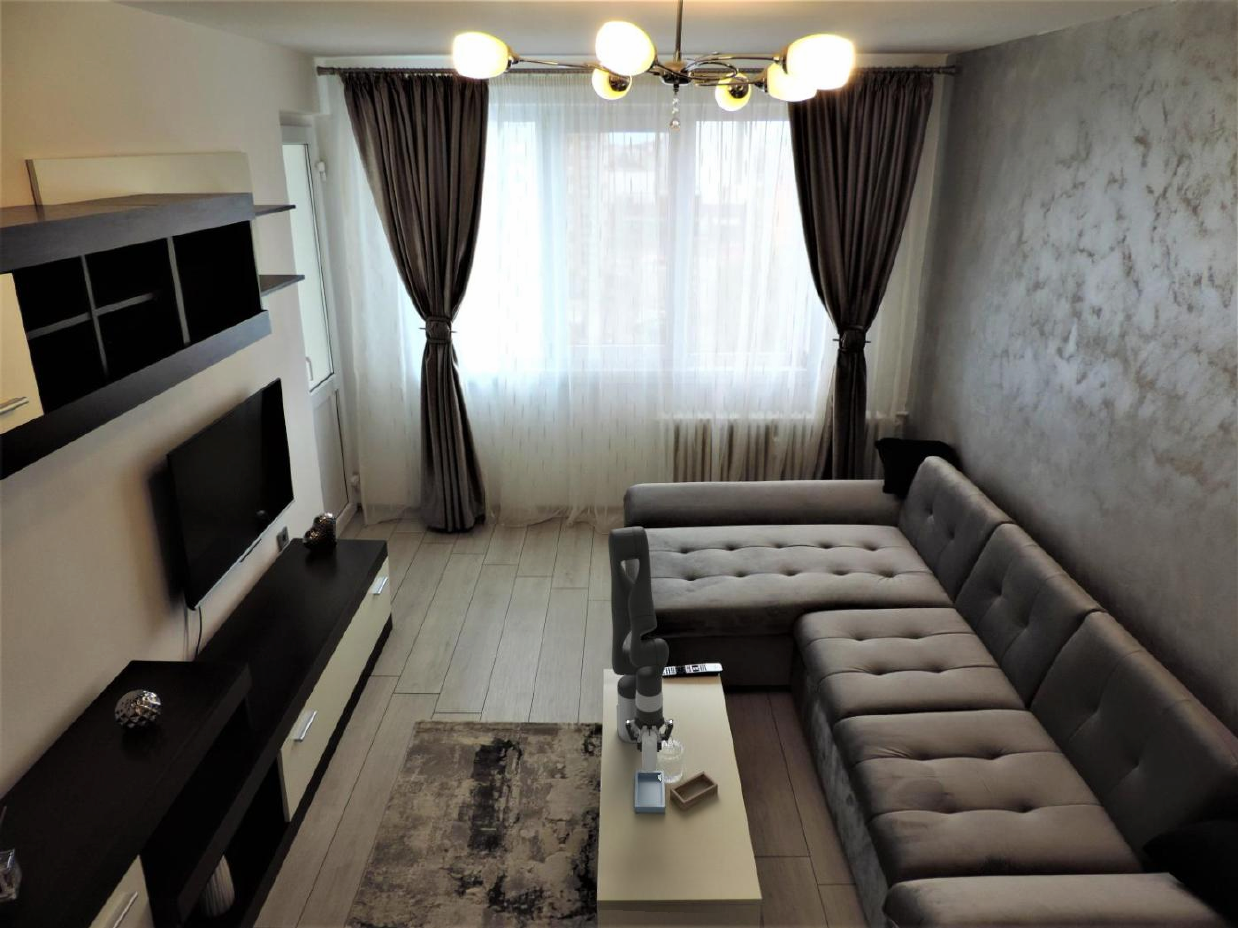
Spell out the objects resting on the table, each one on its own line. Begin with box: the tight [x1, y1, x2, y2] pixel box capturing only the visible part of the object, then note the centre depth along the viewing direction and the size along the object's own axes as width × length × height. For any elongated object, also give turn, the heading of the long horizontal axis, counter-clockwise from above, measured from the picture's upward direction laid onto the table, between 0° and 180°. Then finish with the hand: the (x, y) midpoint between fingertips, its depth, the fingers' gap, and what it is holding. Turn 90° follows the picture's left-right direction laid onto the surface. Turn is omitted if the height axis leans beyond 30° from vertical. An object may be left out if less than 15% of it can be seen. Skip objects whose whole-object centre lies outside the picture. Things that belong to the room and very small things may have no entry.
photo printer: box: [641, 729, 658, 773], centre depth 246 cm, size 10×4×12 cm, turn 179°
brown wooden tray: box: [669, 770, 719, 812], centre depth 253 cm, size 7×12×3 cm, turn 124°
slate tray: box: [634, 770, 666, 815], centre depth 253 cm, size 14×9×2 cm, turn 179°
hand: (649, 749), depth 247 cm, fingers closed on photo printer, 4 cm apart
